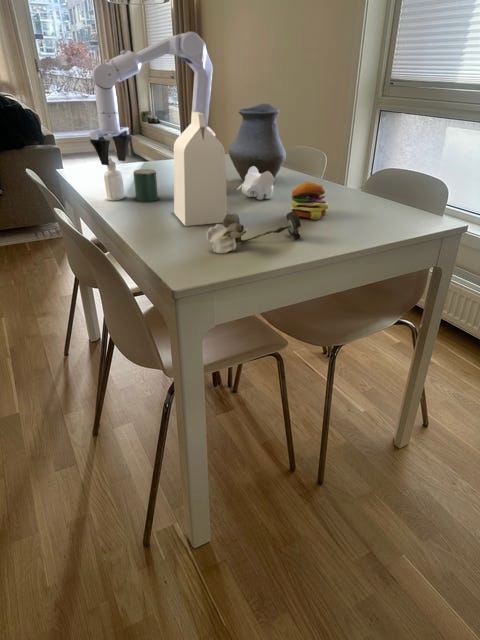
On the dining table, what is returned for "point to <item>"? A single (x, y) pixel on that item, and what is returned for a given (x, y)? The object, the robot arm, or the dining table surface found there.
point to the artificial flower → (243, 232)
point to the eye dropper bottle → (113, 182)
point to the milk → (199, 175)
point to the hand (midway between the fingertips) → (113, 162)
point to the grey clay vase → (258, 141)
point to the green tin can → (145, 185)
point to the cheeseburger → (309, 201)
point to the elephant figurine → (258, 184)
